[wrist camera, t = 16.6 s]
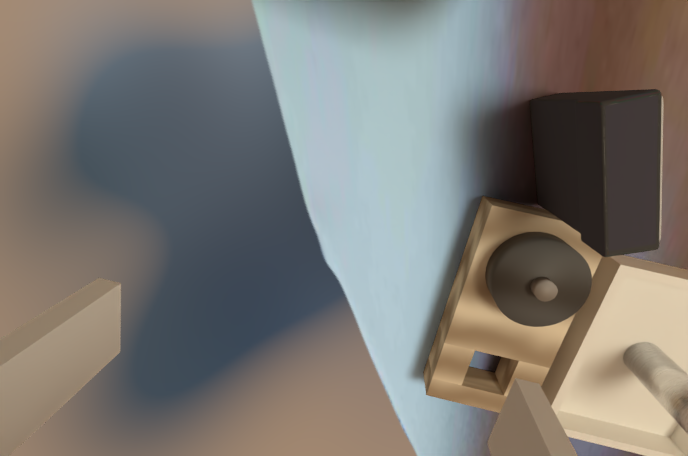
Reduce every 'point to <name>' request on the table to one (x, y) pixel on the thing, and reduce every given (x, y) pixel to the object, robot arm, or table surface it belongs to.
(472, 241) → the tensioner plate
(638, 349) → the lock pin
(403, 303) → the table surface
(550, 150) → the black upright block
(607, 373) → the tray
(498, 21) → the table surface
